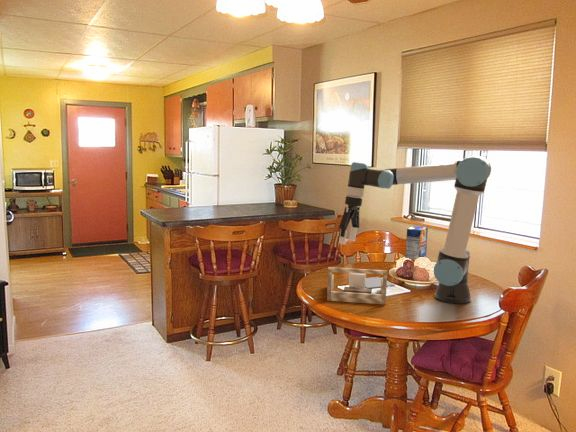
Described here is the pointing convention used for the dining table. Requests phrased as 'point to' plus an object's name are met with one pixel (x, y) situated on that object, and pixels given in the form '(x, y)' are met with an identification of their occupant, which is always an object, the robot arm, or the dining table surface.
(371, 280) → the rubber mat
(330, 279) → the frame
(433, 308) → the dining table surface
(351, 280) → the white cup
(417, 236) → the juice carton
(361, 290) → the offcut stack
